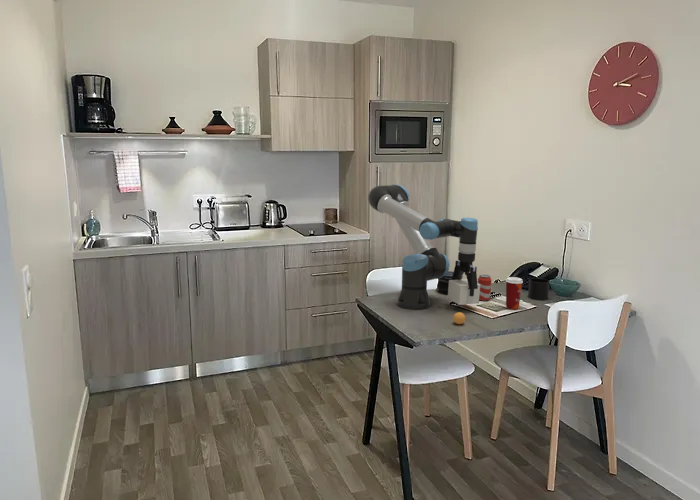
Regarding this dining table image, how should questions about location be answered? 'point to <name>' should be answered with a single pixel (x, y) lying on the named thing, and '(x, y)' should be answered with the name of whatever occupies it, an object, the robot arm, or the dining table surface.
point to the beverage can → (484, 287)
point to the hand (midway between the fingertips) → (463, 299)
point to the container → (445, 282)
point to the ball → (459, 318)
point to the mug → (538, 289)
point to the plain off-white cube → (461, 292)
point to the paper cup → (513, 292)
